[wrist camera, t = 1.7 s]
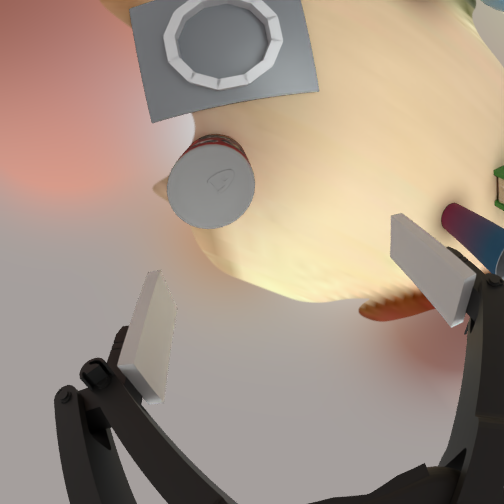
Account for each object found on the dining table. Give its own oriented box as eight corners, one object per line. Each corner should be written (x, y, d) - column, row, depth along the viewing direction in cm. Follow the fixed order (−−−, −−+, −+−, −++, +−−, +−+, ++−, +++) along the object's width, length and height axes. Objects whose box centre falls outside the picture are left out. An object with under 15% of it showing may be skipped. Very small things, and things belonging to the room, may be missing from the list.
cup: (432, 231, 42) (489, 279, 29) (445, 194, 39) (509, 234, 26) (456, 236, 43) (509, 281, 30) (468, 202, 40) (527, 241, 27)
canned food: (258, 156, 34) (273, 178, 25) (220, 206, 37) (220, 245, 27) (207, 120, 32) (200, 126, 22) (170, 173, 34) (150, 201, 25)
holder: (131, 11, 23) (123, 3, 20) (292, -19, 23) (299, -29, 20) (153, 122, 31) (146, 124, 28) (316, 91, 31) (326, 90, 28)
